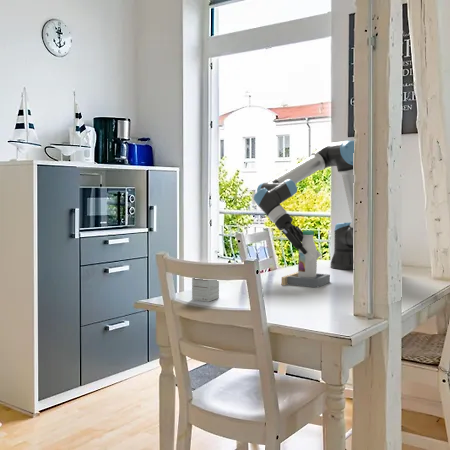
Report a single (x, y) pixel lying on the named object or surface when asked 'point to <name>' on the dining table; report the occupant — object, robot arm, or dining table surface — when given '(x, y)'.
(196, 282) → the supplement box
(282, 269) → the dining table surface
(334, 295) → the dining table surface
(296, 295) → the dining table surface
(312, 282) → the tray
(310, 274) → the milk bottle
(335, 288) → the dining table surface
